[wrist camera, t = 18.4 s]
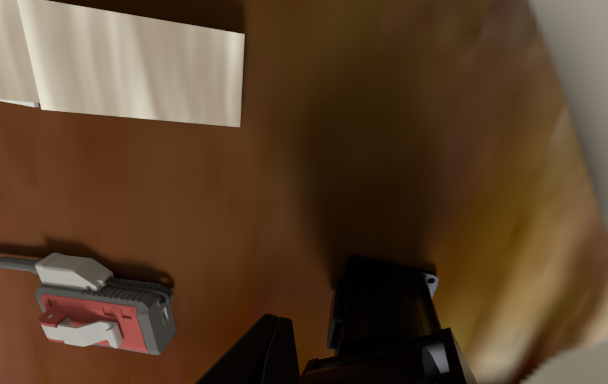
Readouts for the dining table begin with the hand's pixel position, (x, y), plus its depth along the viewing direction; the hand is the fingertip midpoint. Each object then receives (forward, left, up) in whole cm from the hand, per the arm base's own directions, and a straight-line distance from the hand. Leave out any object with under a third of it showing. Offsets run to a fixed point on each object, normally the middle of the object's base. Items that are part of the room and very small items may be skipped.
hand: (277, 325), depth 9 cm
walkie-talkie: (+21, +16, -13) cm, 29 cm away
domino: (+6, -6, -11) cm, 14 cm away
